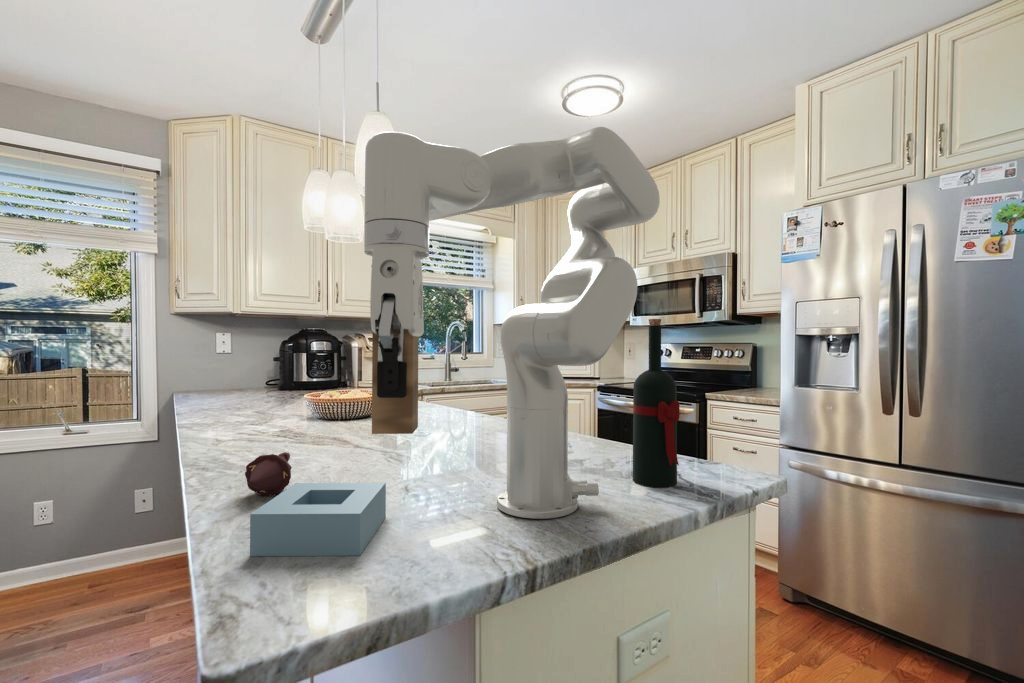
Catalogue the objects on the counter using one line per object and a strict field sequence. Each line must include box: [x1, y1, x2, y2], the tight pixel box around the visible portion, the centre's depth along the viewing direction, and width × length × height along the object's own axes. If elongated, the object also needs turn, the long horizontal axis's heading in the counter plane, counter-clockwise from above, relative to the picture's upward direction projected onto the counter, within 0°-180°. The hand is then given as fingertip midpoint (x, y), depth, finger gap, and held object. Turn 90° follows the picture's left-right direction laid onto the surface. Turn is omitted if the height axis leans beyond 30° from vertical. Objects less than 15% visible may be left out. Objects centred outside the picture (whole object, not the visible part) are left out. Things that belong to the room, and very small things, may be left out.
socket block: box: [249, 482, 387, 557], centre depth 65 cm, size 13×13×5 cm
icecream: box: [244, 452, 293, 497], centre depth 82 cm, size 7×7×15 cm
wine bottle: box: [632, 318, 680, 489], centre depth 89 cm, size 8×10×30 cm
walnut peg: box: [371, 329, 419, 435], centre depth 58 cm, size 5×5×12 cm
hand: (396, 393), depth 58 cm, fingers closed on walnut peg, 4 cm apart
